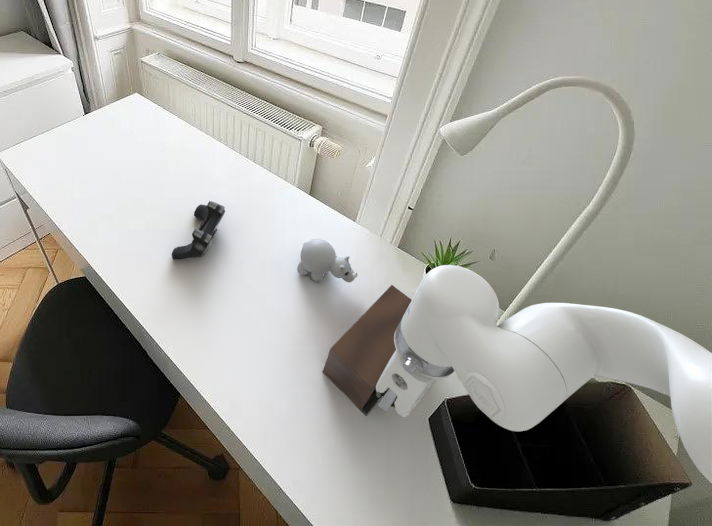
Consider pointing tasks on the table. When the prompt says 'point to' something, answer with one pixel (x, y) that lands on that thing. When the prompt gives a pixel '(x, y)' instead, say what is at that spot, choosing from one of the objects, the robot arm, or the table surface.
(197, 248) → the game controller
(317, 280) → the round bodied animal figurine
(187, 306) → the table surface
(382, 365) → the cabinet
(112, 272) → the table surface
